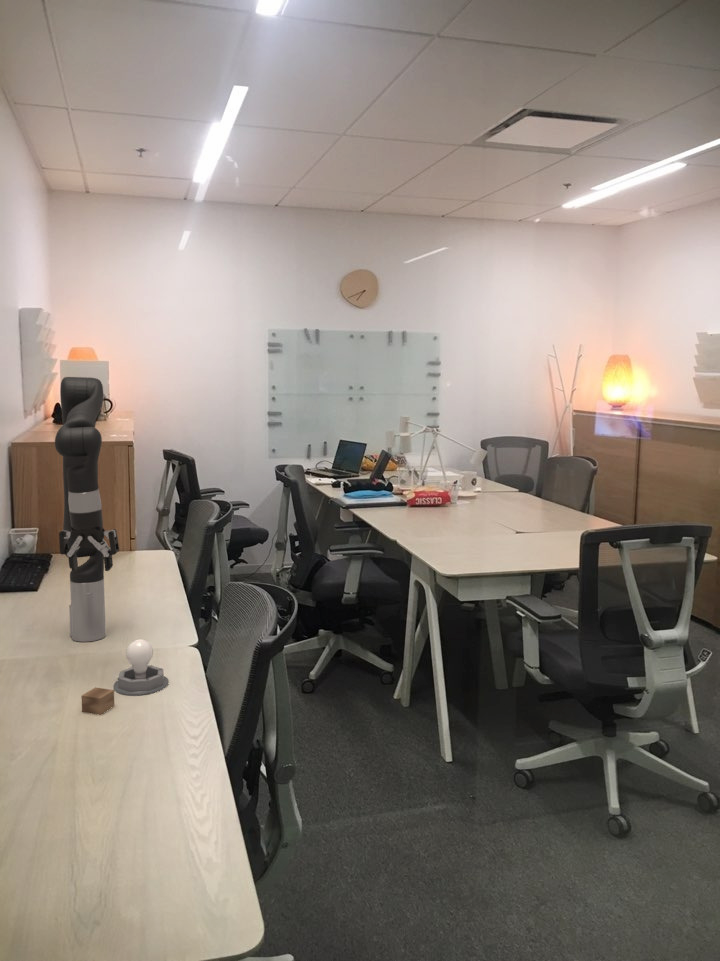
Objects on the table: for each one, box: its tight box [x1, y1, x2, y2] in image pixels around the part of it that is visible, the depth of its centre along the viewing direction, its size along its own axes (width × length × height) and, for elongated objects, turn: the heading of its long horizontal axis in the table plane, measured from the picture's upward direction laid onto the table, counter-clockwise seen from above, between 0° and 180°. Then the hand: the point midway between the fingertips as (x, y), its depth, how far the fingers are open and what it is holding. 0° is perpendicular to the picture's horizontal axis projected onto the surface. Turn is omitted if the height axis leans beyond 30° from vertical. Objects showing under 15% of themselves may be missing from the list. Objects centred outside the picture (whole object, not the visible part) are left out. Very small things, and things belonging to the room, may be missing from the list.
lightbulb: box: [125, 638, 154, 680], centre depth 188 cm, size 6×6×11 cm
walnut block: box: [80, 687, 115, 716], centre depth 175 cm, size 5×5×4 cm
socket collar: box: [113, 664, 170, 697], centre depth 189 cm, size 13×13×3 cm
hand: (91, 570), depth 193 cm, fingers open, 8 cm apart
